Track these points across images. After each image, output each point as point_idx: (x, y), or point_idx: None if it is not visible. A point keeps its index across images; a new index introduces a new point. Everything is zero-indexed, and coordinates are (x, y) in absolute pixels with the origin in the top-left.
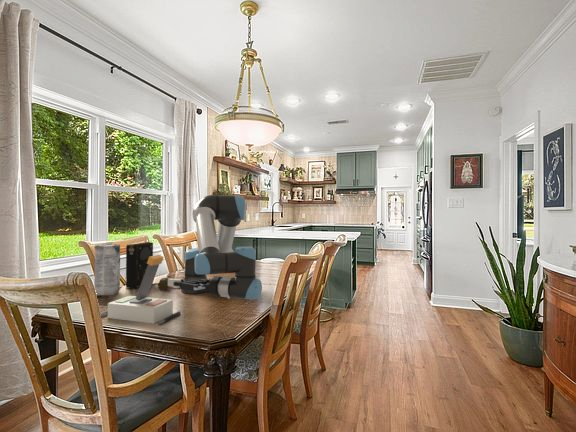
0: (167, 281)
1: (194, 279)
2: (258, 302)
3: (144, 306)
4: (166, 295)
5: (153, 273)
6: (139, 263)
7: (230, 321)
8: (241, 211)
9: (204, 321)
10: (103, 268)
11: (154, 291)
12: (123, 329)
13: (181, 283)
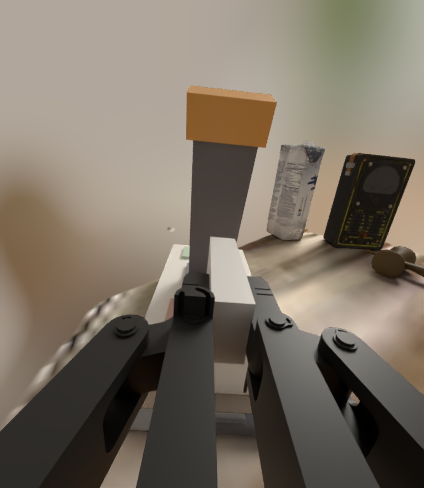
0: (401, 258)
1: (391, 415)
2: None
3: (157, 303)
4: (368, 292)
5: (227, 192)
6: (357, 198)
7: None
8: None
9: None
10: (281, 188)
11: (358, 267)
12: (82, 333)
13: (88, 349)
